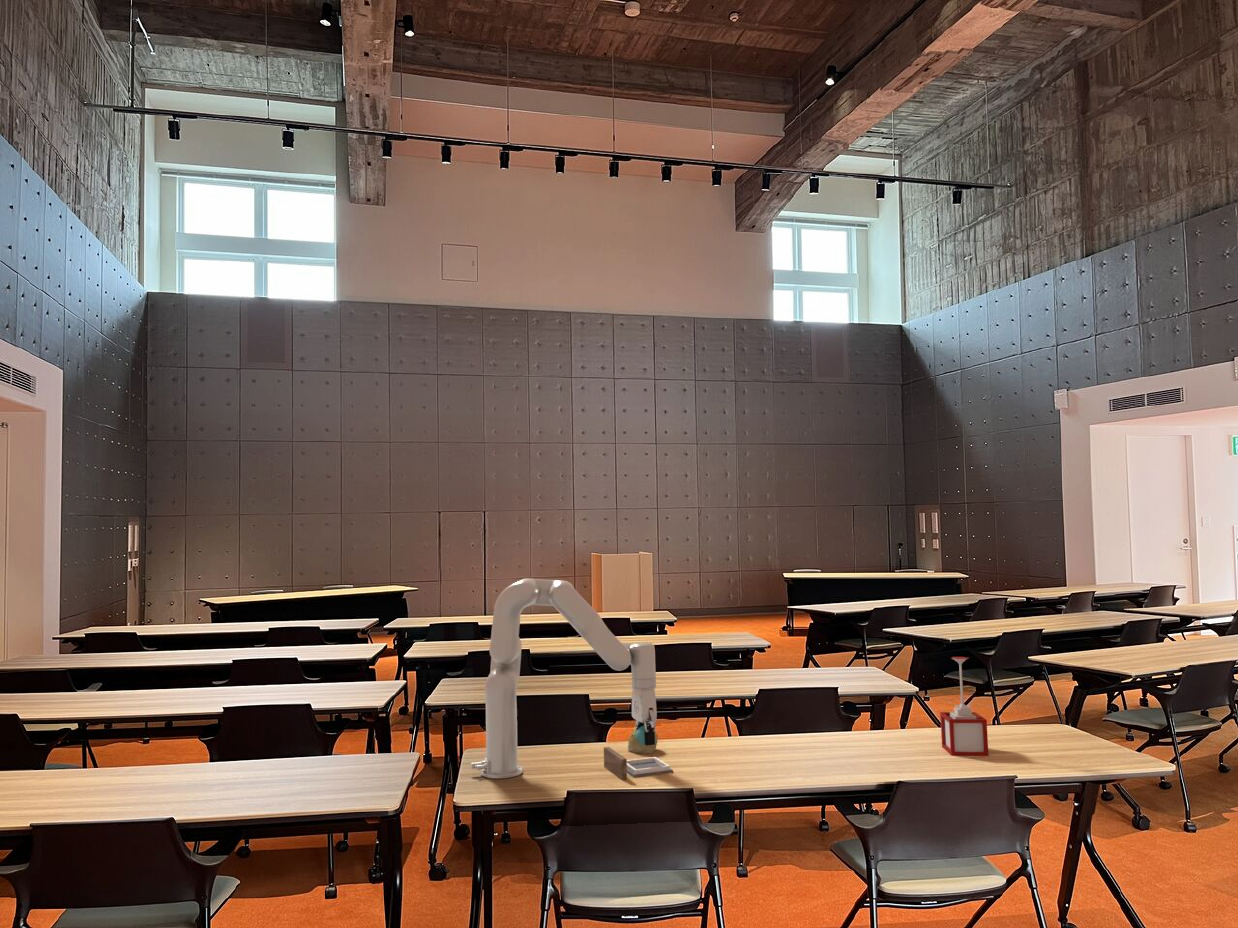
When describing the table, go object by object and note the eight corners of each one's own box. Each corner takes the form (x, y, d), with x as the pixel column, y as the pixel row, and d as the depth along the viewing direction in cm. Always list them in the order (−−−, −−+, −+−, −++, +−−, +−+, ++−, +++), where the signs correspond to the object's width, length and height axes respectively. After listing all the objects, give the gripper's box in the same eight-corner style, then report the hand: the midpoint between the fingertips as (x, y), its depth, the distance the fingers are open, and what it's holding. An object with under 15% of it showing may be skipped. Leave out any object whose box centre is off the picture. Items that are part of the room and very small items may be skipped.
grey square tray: (633, 777, 253) (633, 770, 253) (618, 766, 265) (618, 760, 265) (673, 772, 258) (673, 766, 258) (656, 761, 270) (656, 756, 270)
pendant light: (977, 747, 281) (972, 655, 283) (988, 755, 269) (983, 660, 272) (942, 746, 282) (937, 655, 284) (951, 755, 271) (946, 660, 273)
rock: (649, 756, 290) (637, 729, 294) (668, 745, 283) (655, 716, 287) (628, 764, 283) (616, 736, 287) (647, 752, 276) (635, 723, 280)
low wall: (621, 780, 250) (621, 759, 251) (604, 766, 265) (603, 747, 266) (626, 779, 251) (626, 758, 251) (608, 766, 266) (608, 746, 266)
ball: (640, 748, 258) (639, 728, 259) (633, 744, 264) (632, 724, 264) (658, 746, 260) (658, 726, 261) (651, 742, 266) (650, 722, 266)
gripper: (623, 680, 270) (624, 737, 269) (643, 688, 254) (645, 750, 253) (644, 678, 273) (646, 735, 271) (665, 686, 257) (668, 747, 255)
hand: (645, 741), depth 262 cm, fingers closed on ball, 5 cm apart
